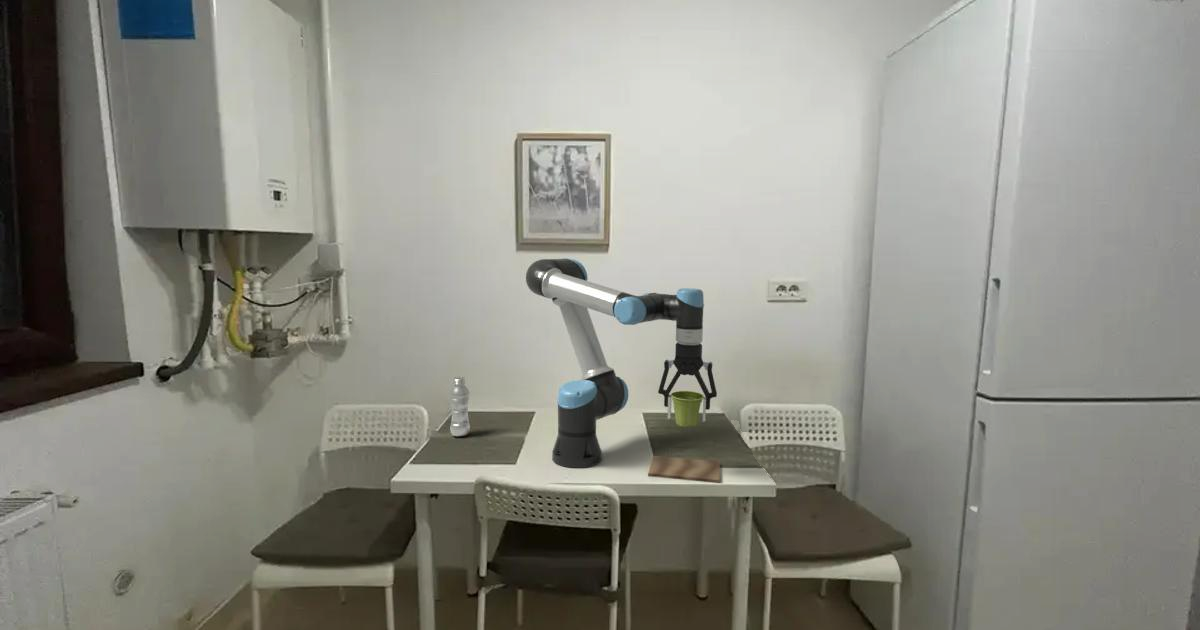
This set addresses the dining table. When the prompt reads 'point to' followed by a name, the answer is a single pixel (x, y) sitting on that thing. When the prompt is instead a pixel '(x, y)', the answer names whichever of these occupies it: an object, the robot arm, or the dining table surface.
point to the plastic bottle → (459, 408)
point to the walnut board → (685, 469)
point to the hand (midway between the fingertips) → (686, 418)
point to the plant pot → (686, 407)
